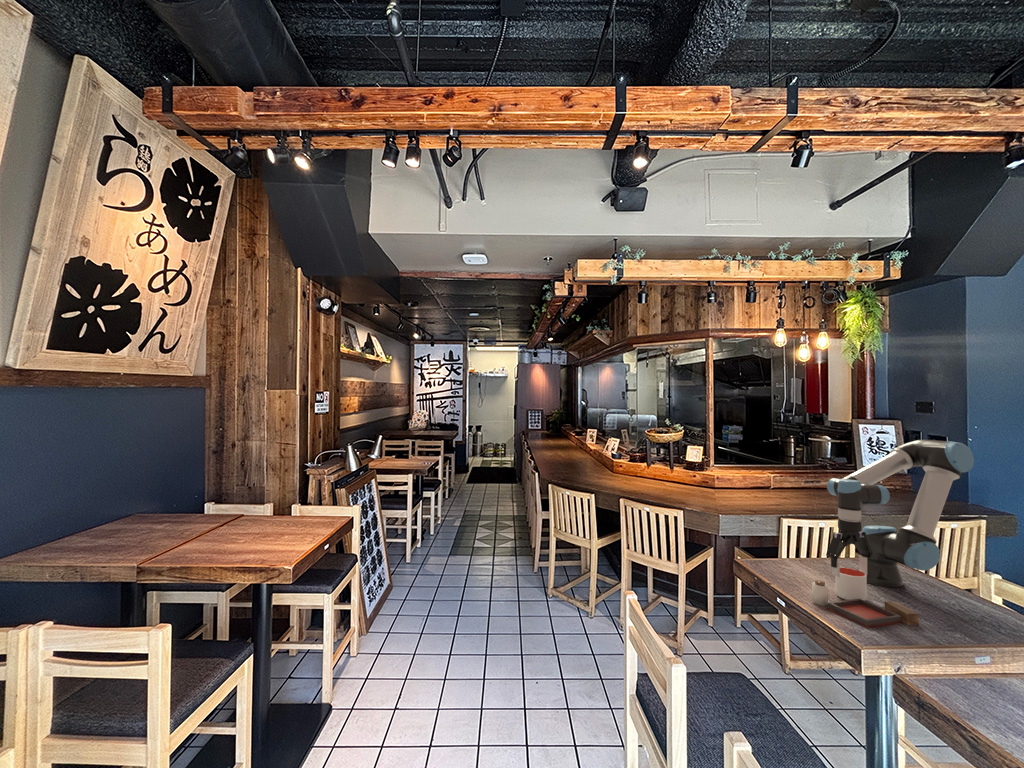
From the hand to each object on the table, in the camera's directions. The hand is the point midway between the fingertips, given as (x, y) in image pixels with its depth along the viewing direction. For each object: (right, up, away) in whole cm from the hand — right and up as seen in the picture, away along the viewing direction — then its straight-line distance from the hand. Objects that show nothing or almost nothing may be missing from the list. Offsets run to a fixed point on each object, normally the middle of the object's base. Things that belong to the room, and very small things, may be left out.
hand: (849, 574), depth 185 cm
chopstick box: (+6, -9, -17) cm, 20 cm away
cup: (0, -9, 0) cm, 9 cm away
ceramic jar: (-15, -9, -5) cm, 18 cm away
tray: (-6, -8, -16) cm, 19 cm away
